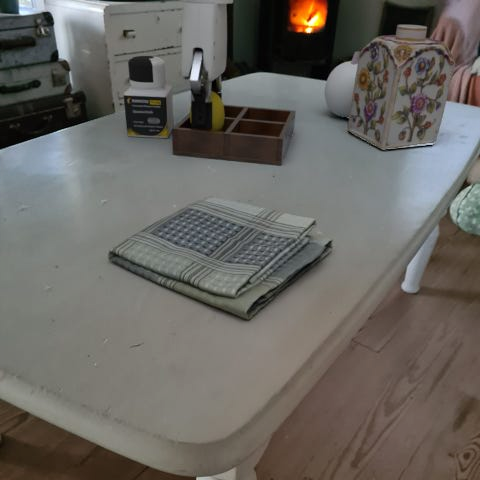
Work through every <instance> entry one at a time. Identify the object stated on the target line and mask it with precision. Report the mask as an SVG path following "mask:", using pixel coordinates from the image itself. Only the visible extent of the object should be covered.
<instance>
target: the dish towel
mask: <svg viewBox="0 0 480 480" xmlns="http://www.w3.org/2000/svg"><path fill="white" fill-rule="evenodd" d="M317 225H318V222H317V219H316V218H312V217H306V216H303V215H302V216H301V215H300V216H298V215H295V214H291V213H287V212H282V211H278V210H274V209H271V208H265V207H260V206H256V205H252V204H248V203H244V202H239V201H235V200H234V201H233V200H231V199H225V198H220V197H216V196H213V195H210V196H207V197H204V198H200V199H199V200H196V201H194V202H192V203H190V204H188V205H186V206H184V207H183V208H181V209H179V210H177V211H175V212H173V213H172V214H169V215H168V216H165V217H163V218H162V219H160V220H158V221H155V222H154V223H152V224H150V225H148V226H147V227H145V228H143V229H142V230H140V231H138V232H136V233H134V234H133V235H131V236H129V237H127V238H126V239H124V240H123V241H121V242H119V243H117V244H116V245H115V246H113V247H111V248H110V249H109V250H108V255H107V258H108V260H109V261H110V262H114V263H116V264H117V265H119V266H121V267H123V268H124V269H126V270H129V271H130V272H132V273H134V274H137V275H139V276H141V277H143V278H145V279H147V280H149V281H152V282H154V283H156V284H159V285H161V286H163V287H166V288H168V289H171V290H174V291H175V292H178V293H181V294H182V295H185V296H188V297H190V298H193V299H195V300H198V301H200V302H203V303H205V304H207V305H210V306H213V307H216V308H219V309H221V310H224V311H225V312H229V313H231V314H233V315H235V316H238V317H240V318H242V319H245V320H250V319H252V317H253V316H255V315H256V313H258V311H259V310H260V309H262V308H264V307H266V305H267V304H269V303H270V302H271V301H272V300H273V299H274V298H275V297H276V296H277V295H278V294H279V293H280V291H282V290H284V289H285V288H287V286H289V285H291V284H293V283H294V282H295V281H297V280H298V278H300V276H302V275H303V274H304V273H306V271H308V270H309V269H310V268H311V267H313V266H314V265H316V264H317V263H318V262H320V261H321V260H323V258H324V257H326V256H327V255H329V254H330V252H331V251H332V250H333V241H334V240H333V239H332V238H328V237H321V236H314V235H309V233H311V232H312V230H313V229H315V228H316V227H317Z"/></svg>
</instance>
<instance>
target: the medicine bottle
mask: <svg viewBox="0 0 480 480" xmlns="http://www.w3.org/2000/svg"><path fill="white" fill-rule="evenodd" d="M127 64H128V65H127V66H128V77H129V79H128V80H129V84H130V86H129V87H128V88H127V89H126V90H125V91H124V93H123V103H124V104H123V105H124V114H125V125H126V136H127V137H130V138H151V139H168V138H169V136H170V135H171V134H172V128H173V127H174V126H175V125H174V101H173V87H172V85H167V74H166V72H167V71H166V62H165V60H164V59H163V58H160V57H159V56H154V55H137V56H133V57H132V58H130V59H129V60H128V61H127Z"/></svg>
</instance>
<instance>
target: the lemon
mask: <svg viewBox="0 0 480 480" xmlns="http://www.w3.org/2000/svg"><path fill="white" fill-rule="evenodd" d="M205 92H206V88H205ZM210 102H212V128H211V130H210V131H221V129H222V127H223V124H224V119H225V112H224V106H223V105H224V103H223V99H222V100H221V98H220V97H219V96H218V95H217V94H216V93H215V92H213V91H211V97H210ZM189 108H190V109H189V113H190V121H191V106H190V107H189ZM193 129H194V128H193ZM199 130H205V129H199Z"/></svg>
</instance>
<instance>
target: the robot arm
mask: <svg viewBox="0 0 480 480" xmlns="http://www.w3.org/2000/svg"><path fill="white" fill-rule="evenodd" d="M179 1H180V2H183V7H182V8H183V9H182V17H181V18H182V19H181V46H180V47H181V50H180V51H181V52H180V53H181V55H180V57H181V58H180V59H181V64H180V74H181V77H182V79H183V80H185V81H187V80H189V85H190V107H191V126H192V128H194V129H205V130H211V128H212V102H210V97H211V91H213V92H215V93H216V94H217V95H218V96H219V97H220V98H221V100H222V101H223V99H222V98H223V96H222V95H223V94H222V88H223V85H222V74H223V73H224V72H225V71H226V68H227V56H228V19H227V18H228V14H227V13H228V11H227V8H228V7H227V5H228V4H229V5H230V4H233V3H234V0H179ZM205 88H206V92H205Z"/></svg>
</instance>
